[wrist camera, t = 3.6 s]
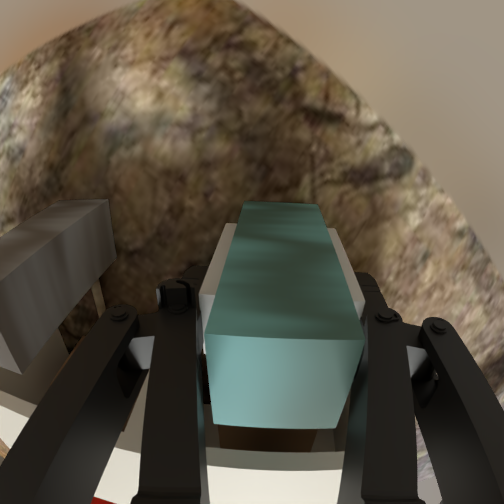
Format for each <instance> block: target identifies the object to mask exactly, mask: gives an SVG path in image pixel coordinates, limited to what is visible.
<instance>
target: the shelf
mask: <svg viewBox="0 0 504 504" xmlns="http://www.w3.org/2000/svg"><path fill="white" fill-rule="evenodd" d="M68 356H69V354H68V351H67V349H66V346H65V344H64V341H63V339H62V336H61V334H60V331H59V328H57V329H56V330H55V332H54V333H53V334H52V336H51V337H50V338H49V339H48V341H47V342H46V343H45V345H44V346H43V347H42V349H41V350H40V351H39V353H38V354H37V355H36V357H35V358H34V359H33V361H32V362H31V363H30V365H29V366H28V368H27V369H26V370H25V372H24V373H23V374H22V375H21V374H19V373H16V372H13V371H11V370H8V369H5V368H3V367H0V438H1V439H2V440H3V441H4V443H5V444H6V445H7V446H8V447H9V448H10V449H11V447H12V445H13V444H14V442H15V440H16V439H17V437H18V435H19V434H20V432H21V431H22V429H23V427H24V426H25V424H26V423H27V421H28V419H29V418H30V416H31V415H32V413H33V412H34V410H35V409H36V407H37V405H38V404H39V402H40V401H41V399H42V398H43V396H44V395H45V393H46V392H47V390H48V389H49V387H50V384H51V382H52V381H53V379H54V378H55V376H56V375H57V373H58V372H59V370H60V369H61V367H62V365H63V364H64V362H65V361H66V359H67V358H68ZM149 371H150V369H149ZM148 378H149V372H148V374H147V376H146V379H145V381H144V384H143V386H142V388H141V391H140V393H139V396H138V398H137V401H136V403H135V406H134V408H133V411H132V413H131V416H130V418H129V421H128V423H127V426H126V428H125V431H124V432H122V431H121V433H120V436H119V438H118V440H117V442H116V445H115V447H114V449H113V452H112V454H111V456H110V458H109V461H108V463H107V466H106V468H105V470H104V473H103V475H102V477H101V480H100V482H99V485H98V487H97V489H96V492H95V494H94V497H97V498H100V499H103V500H106V501H109V502H113V503H116V504H130V503H131V500H132V497H133V496H135V495H136V494H137V492H138V486H139V469H140V455H141V443H142V432H143V422H144V412H145V403H146V394H147V386H148ZM350 394H351V388H350V391H349V393H348V396H347V399H346V402H345V405H344V407H343V410H342V413H341V416H340V418H339V421H338V423H337V426H336V428H327V429H318V431H317V434H316V437H315V440H314V443H313V446H312V449H311V452H305V453H295V452H261V451H245V450H232V449H222V448H220V441H219V432H218V424H214V422H213V414H212V406H211V405H209V404H203V408H204V427H205V444H206V459H207V473H208V486H209V498H210V504H337V500H338V494H339V488H340V482H341V475H342V468H343V461H344V453H345V445H346V436H347V427H348V417H349V406H350Z"/></svg>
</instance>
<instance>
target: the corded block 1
mask: <svg viewBox="0 0 504 504" xmlns="http://www.w3.org/2000/svg"><path fill="white" fill-rule="evenodd" d="M116 258H117V255H116V249H115V243H114V237H113V230H112V223H111V216H110V208H109V200H108V199H92V200H59V201H57V202H56V203H54V204H52V205H51V206H49V207H47V208H45V209H44V210H42V211H40V212H39V213H37V214H36V215H34V216H32V217H31V218H29V219H27V220H26V221H24V222H23V223H21V224H20V225H18V226H16V227H15V228H13V229H12V230H10V231H9V232H7V233H6V234H4V235H3V236H1V237H0V367H3V368H5V369H8V370H11V371H13V372H16V373H19V374H21V375H22V374H23V373H24V372H25V370H26V369H27V368H28V366H29V365H30V363H31V362H32V361H33V359H34V358H35V357H36V355H37V354H38V353H39V351H40V350H41V349H42V347H43V346H44V345H45V343H46V342H47V341H48V339H49V338H50V337H51V336H52V334H53V333H54V332H55V330H56V329H57V328H58V327H59V325H60V324H61V323H62V322H63V320H64V319H65V318H66V317H67V315H68V314H69V313H70V312H71V311H72V309H73V308H74V307H75V306H76V304H77V303H78V302H79V301H80V300H81V298H82V297H83V296H84V295H85V294H86V293H87V291H88V290H89V289H90V288H91V289H92V293H93V297H94V301H95V305H96V308H97V312H98V315H99V318H100V316H101V315H102V314H103V313H104V312H105V311H106V307H105V303H104V299H103V295H102V291H101V287H100V282H99V277H100V276H101V275H102V274H103V273H104V272H105V271H106V269H107V268H108V267H109V266H110V265H111V264H112V263H113V262H114V260H115V259H116ZM84 338H85V336H82V337H81V339H80V340H79V342H78V343H77V345H76V346H75V348H74V349H73V351H72V352H71V353H70V355H69V356H68V358H67V359H66V361H65V362H64V364H63V365H62V367H61V369H60V370H59V372H58V373H57V375H56V376H55V378H54V379H53V381H54V380H55V379H56V377H57V376H58V374H59V373H60V371H61V370H62V368H63V367H64V366H65V364H66V363H67V361H68V360H69V359H70V357H71V356H72V354H73V353H74V352H75V350H76V349H77V347H78V346H79V345H80V343H81V342H82V341H83V339H84ZM149 369H150V368H149ZM145 379H146V378H145ZM53 381H52V382H51V384H52V383H53ZM144 381H145V380H144ZM51 384H50V386H51ZM143 384H144V383H143ZM142 386H143V385H142ZM141 388H142V387H141ZM140 391H141V389H140ZM140 391H139V393H140ZM139 393H138V396H139ZM138 396H137V398H138ZM137 398H136V400H135V402H134V404H133V406H132V409H131V411H130V413H129V415H128V418H127V420H126V422H125V424H124V426H123V429H122V432H124V431H125V428H126V426H127V423H128V421H129V418H130V416H131V413H132V411H133V408H134V406H135V403H136V401H137Z"/></svg>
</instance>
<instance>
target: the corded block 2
mask: <svg viewBox="0 0 504 504" xmlns="http://www.w3.org/2000/svg"><path fill="white" fill-rule="evenodd" d="M204 339H205V350H206V360H207V370H208V379H209V388H210V397H211V406H212V414H213V422H214V424H218V432H219V441H220V448H222V449H232V450H245V451H261V452H295V453H305V452H311V449H312V446H313V443H314V440H315V437H316V434H317V431H318V429H327V428H336V426H337V423H338V421H339V418H340V416H341V413H342V410H343V407H344V405H345V402H346V399H347V396H348V393H349V391H350V388H351V385H352V382H353V379H354V376H355V373H356V370H357V366H358V363H359V360H360V357H361V354H362V350H363V347H364V344H365V340H366V339H365V336H364V333H363V330H362V327H361V324H360V320H359V317H358V314H357V311H356V308H355V305H354V302H353V299H352V296H351V293H350V290H349V287H348V284H347V282H346V279H345V276H344V273H343V270H342V267H341V265H340V262H339V259H338V256H337V254H336V251H335V248H334V245H333V243H332V240H331V237H330V235H329V232H328V229H327V227H326V224H325V222H324V219H323V217H322V214H321V211H320V209H319V206H318V204H301V203H282V202H259V201H244V204H243V207H242V210H241V213H240V216H239V219H238V223H237V226H236V229H235V232H234V236H233V239H232V242H231V245H230V248H229V252H228V255H227V258H226V262H225V265H224V268H223V271H222V275H221V278H220V281H219V285H218V288H217V291H216V295H215V298H214V301H213V305H212V308H211V311H210V315H209V318H208V322H207V325H206V328H205V332H204Z"/></svg>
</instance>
